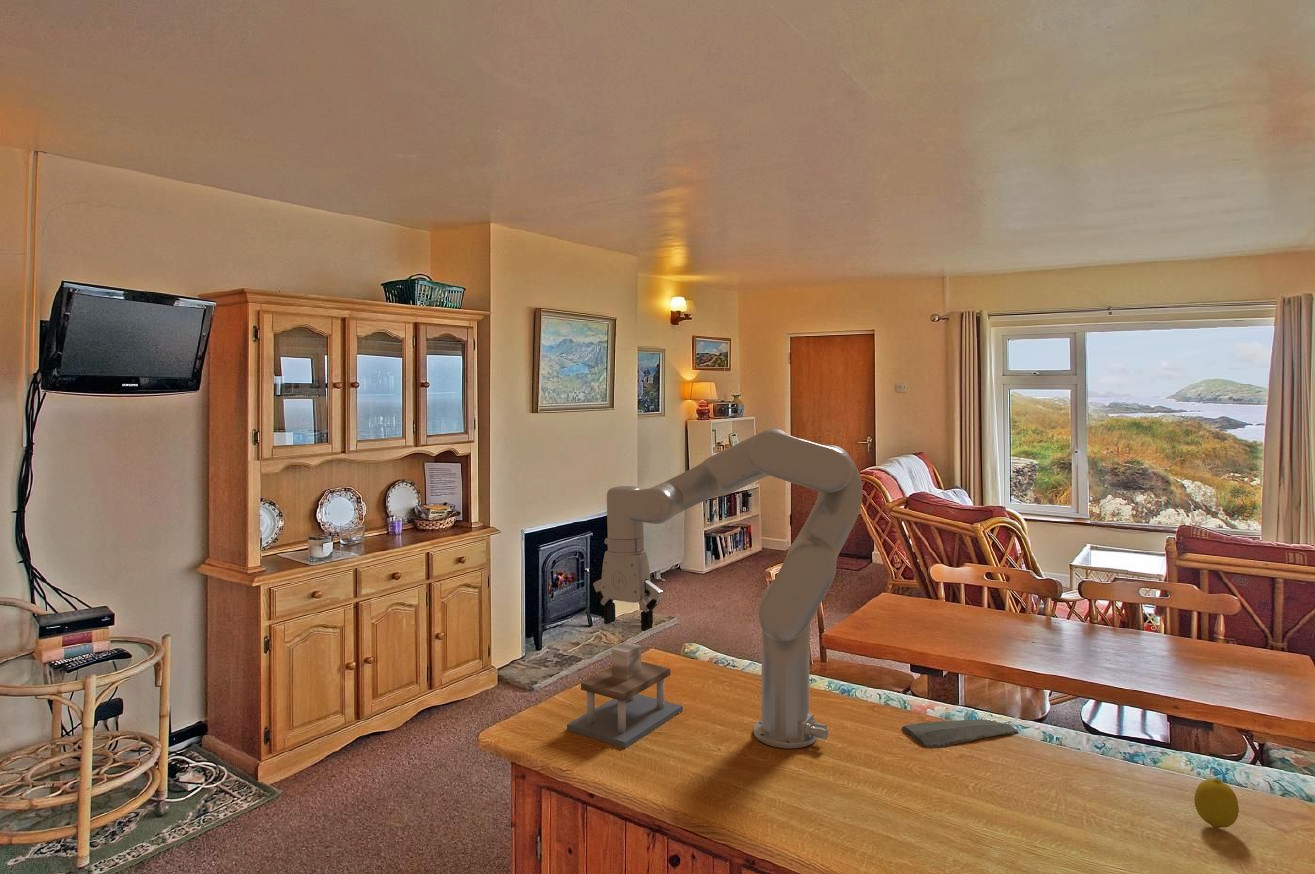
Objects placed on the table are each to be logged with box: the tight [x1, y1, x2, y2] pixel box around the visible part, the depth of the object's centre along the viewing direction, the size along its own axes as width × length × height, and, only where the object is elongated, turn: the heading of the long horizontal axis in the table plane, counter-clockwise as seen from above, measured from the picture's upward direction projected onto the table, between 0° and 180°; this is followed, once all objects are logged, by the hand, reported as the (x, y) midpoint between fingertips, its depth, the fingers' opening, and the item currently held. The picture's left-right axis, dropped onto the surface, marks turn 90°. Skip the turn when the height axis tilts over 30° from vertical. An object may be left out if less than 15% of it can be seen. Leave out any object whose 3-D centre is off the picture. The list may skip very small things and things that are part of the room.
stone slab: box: [901, 718, 1019, 749], centre depth 151 cm, size 22×3×10 cm
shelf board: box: [580, 642, 671, 701], centre depth 156 cm, size 17×11×8 cm, turn 146°
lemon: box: [1193, 778, 1240, 830], centre depth 116 cm, size 6×6×8 cm
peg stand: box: [566, 679, 684, 749], centre depth 157 cm, size 15×21×8 cm
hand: (628, 625), depth 156 cm, fingers open, 9 cm apart
